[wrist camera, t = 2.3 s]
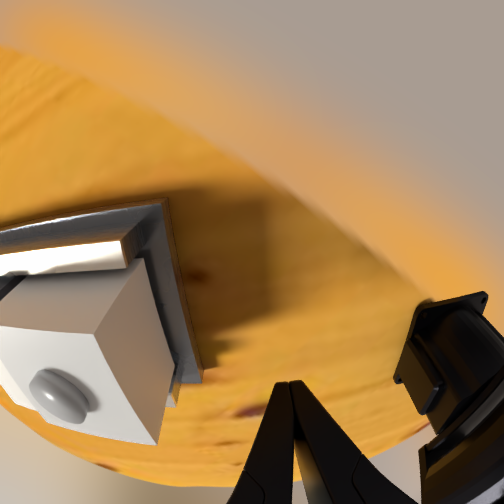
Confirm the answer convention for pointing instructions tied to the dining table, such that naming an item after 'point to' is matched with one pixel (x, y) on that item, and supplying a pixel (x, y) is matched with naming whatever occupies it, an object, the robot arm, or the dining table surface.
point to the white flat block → (3, 286)
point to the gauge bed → (113, 264)
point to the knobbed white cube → (89, 351)
